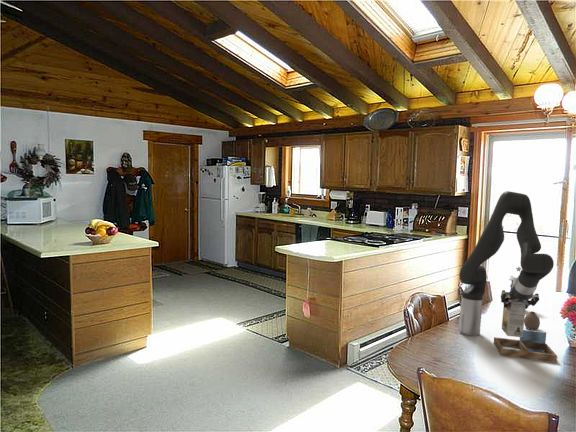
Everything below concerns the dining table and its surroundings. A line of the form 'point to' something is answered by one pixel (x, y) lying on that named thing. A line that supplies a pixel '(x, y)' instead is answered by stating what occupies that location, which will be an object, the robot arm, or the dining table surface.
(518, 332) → the coffee box
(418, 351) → the dining table surface
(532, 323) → the vase
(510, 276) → the white blue toy tower
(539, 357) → the organiser
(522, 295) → the robot arm
